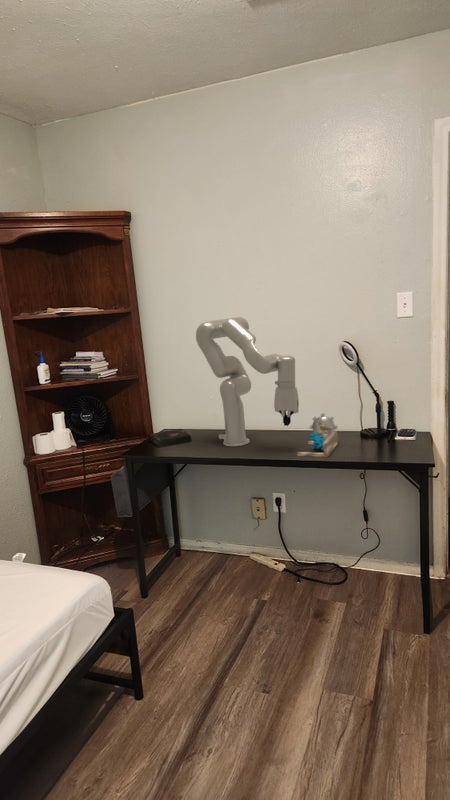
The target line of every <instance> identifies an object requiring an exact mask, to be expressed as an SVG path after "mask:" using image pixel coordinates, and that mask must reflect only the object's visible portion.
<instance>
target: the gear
mask: <svg viewBox="0 0 450 800" xmlns="http://www.w3.org/2000/svg"><path fill="white" fill-rule="evenodd" d="M334 419H335V418H334V417H333V416H331V417H329V416H326V415H325V412H324V413H321V414H320V416H318V417H317V416H314V417H312V419H311V420H312V421H313V423H312V424H310V425H309V430H310V429H311V430H312V433H313V432H314V433H318V436H320V435H321V436H322V439H324V438H326V439H327V438H328V437H329V436H330V434H331V433H332V432H333V431H336V430H338V428H339V427H338V425H335V423H334Z"/></svg>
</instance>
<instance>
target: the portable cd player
mask: <svg viewBox="0 0 450 800" xmlns="http://www.w3.org/2000/svg"><path fill="white" fill-rule="evenodd" d="M149 435H150V441H151V443H153V444H154V445H155V446H156V447H157V448H166V447H170V446H171V447H172V446H176V445H182V444H187V443H192V442H193V440H192V436H191V434H190V433H188V432H186V431H185V430H184V429H182V428H178V429H172V430H166V431H160V432H159V431H158V432H155V433H150V434H149Z"/></svg>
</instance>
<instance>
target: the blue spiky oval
mask: <svg viewBox="0 0 450 800" xmlns="http://www.w3.org/2000/svg"><path fill="white" fill-rule="evenodd" d="M309 437H310V441H314V442H313V443H314V444H313V446H312V447H311V449H312V450H315V449H316V448H317V449H321V451H322V452H324V450H323V443H324V442H325V440H326V439H327V438H324V439H322V436H321V435H320V436H318V433H314V432H313V431H312V433H311V434H310V435H309Z"/></svg>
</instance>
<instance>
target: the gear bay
mask: <svg viewBox="0 0 450 800" xmlns="http://www.w3.org/2000/svg"><path fill="white" fill-rule="evenodd" d="M313 442H314V441H312V440H308V441H307V445H314V443H313ZM337 445H338V431H337V430H334V431H333V432H332V433H331V434H330V436H329V437H328V438H326V440H325V442H324V443H323V450H324V451H323V450H322V451H323V452H310V451H308V452H307V451H297V452H296V455H297V456H298V457H318V458H319V457H320V458H328V457H330V455H331V454H332V452H333V451H334V450H335V448H336V446H337Z"/></svg>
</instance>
